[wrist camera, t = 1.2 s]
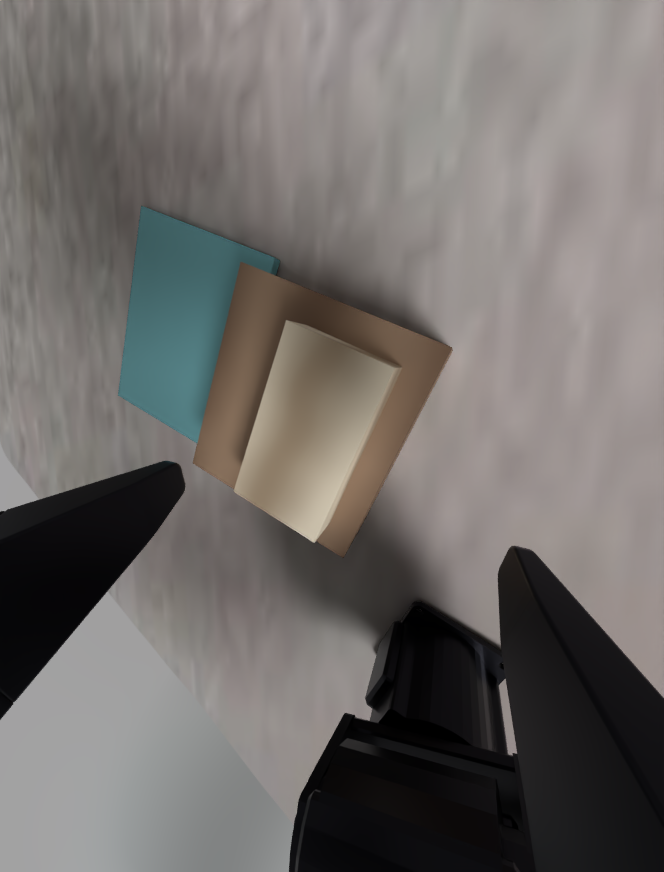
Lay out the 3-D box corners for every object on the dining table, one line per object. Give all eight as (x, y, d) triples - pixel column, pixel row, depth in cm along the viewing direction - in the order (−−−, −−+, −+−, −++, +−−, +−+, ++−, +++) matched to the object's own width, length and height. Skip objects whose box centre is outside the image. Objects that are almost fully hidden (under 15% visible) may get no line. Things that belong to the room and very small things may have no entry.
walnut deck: (452, 350, 16) (452, 347, 13) (362, 523, 20) (343, 558, 17) (281, 280, 19) (240, 261, 15) (233, 447, 23) (192, 463, 19)
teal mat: (280, 260, 18) (274, 257, 18) (225, 455, 23) (220, 457, 23) (149, 209, 21) (141, 205, 20) (125, 394, 26) (118, 395, 25)
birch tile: (402, 367, 13) (394, 368, 12) (329, 523, 17) (314, 543, 15) (306, 325, 15) (286, 319, 13) (255, 478, 18) (233, 491, 16)
